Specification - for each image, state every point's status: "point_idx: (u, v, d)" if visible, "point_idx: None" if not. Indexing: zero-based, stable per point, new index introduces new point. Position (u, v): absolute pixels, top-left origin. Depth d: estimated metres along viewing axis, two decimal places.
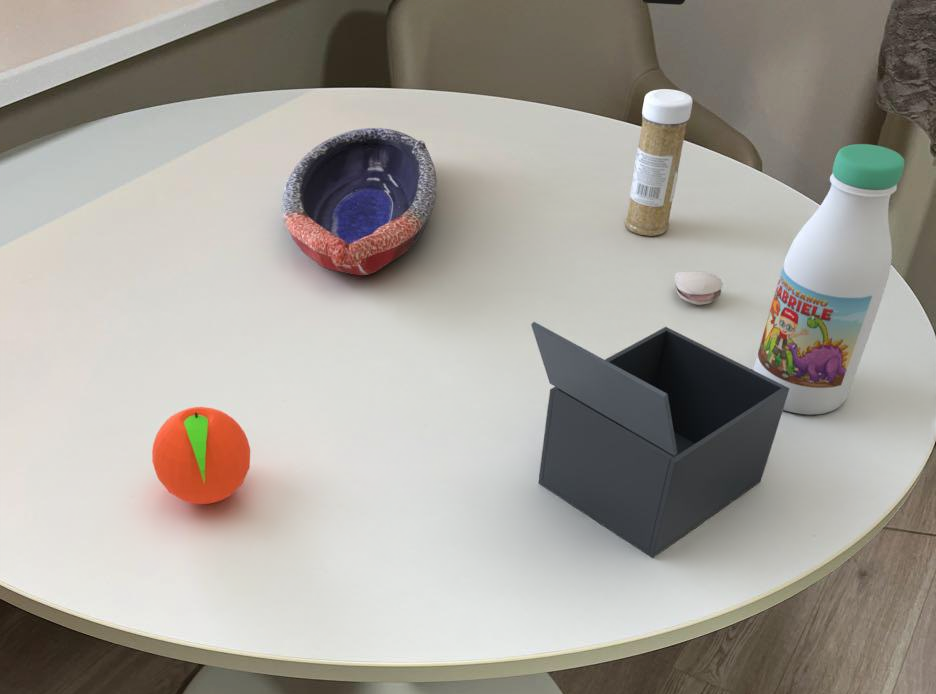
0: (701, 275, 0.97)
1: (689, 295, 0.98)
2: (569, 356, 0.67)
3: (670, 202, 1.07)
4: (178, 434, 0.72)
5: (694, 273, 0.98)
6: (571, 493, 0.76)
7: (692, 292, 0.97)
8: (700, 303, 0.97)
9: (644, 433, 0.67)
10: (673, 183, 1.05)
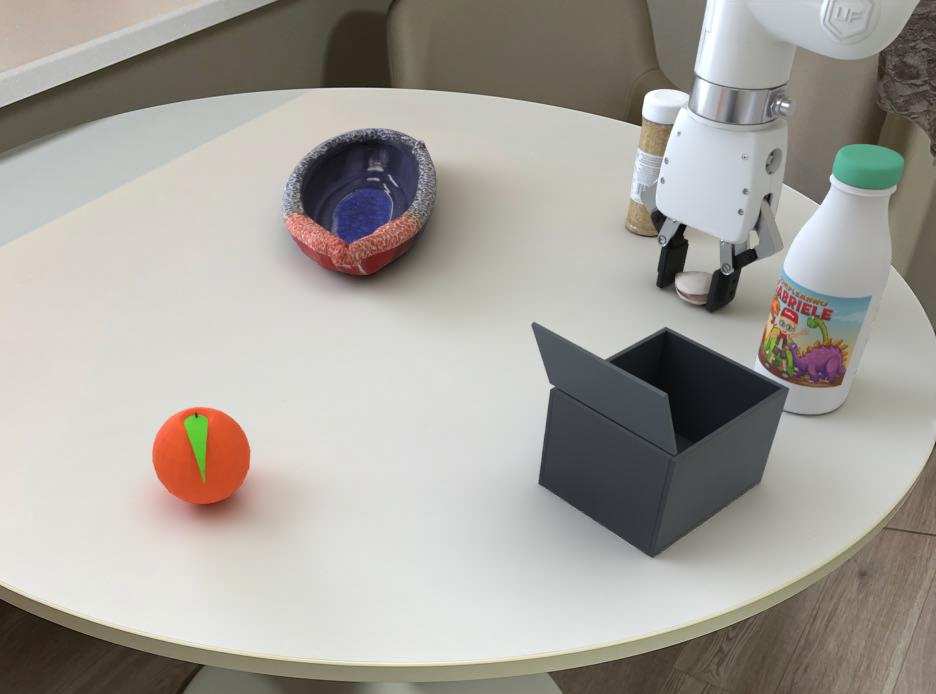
0: (701, 275, 0.97)
1: (689, 295, 0.98)
2: (569, 356, 0.67)
3: None
4: (178, 434, 0.72)
5: (694, 273, 0.98)
6: (571, 493, 0.76)
7: (692, 292, 0.97)
8: (700, 303, 0.97)
9: (644, 433, 0.67)
10: None
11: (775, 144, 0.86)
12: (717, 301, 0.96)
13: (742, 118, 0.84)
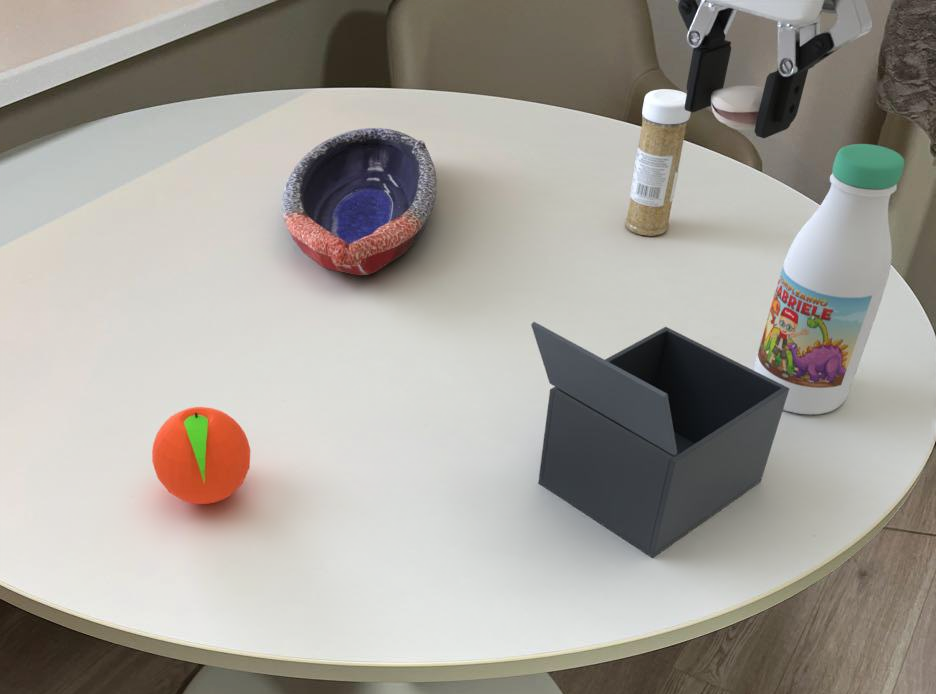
0: None
1: (731, 116, 0.69)
2: (569, 356, 0.67)
3: (670, 202, 1.07)
4: (178, 434, 0.72)
5: (738, 86, 0.70)
6: (571, 493, 0.76)
7: (736, 109, 0.68)
8: (747, 127, 0.69)
9: (644, 433, 0.67)
10: (673, 183, 1.05)
11: None
12: (771, 122, 0.68)
13: None
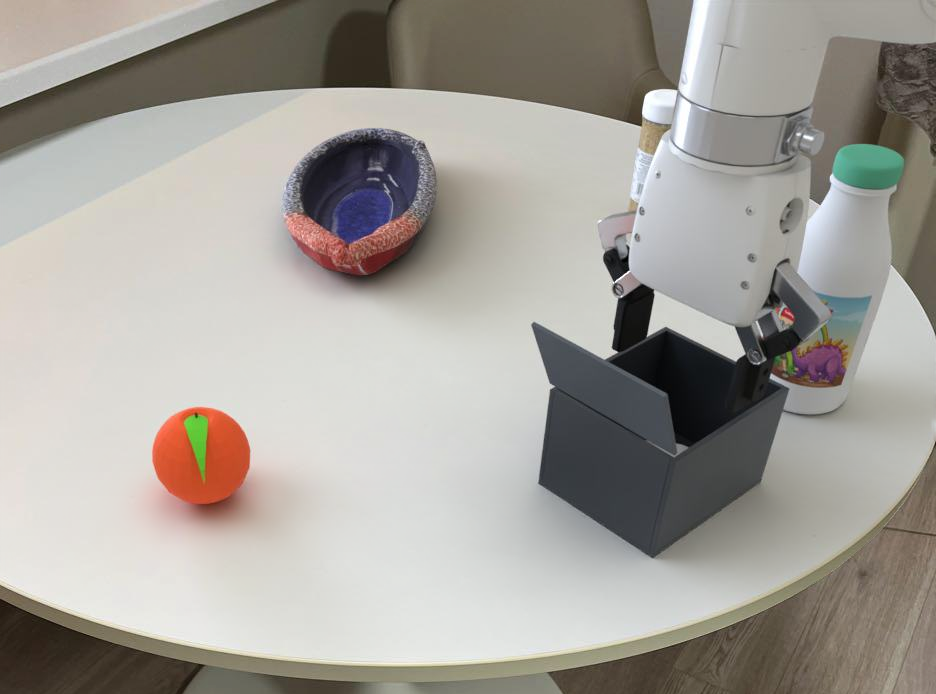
0: None
1: None
2: (569, 356, 0.67)
3: None
4: (178, 434, 0.72)
5: None
6: (571, 493, 0.76)
7: None
8: None
9: (644, 433, 0.67)
10: None
11: (794, 193, 0.61)
12: (741, 398, 0.69)
13: (746, 157, 0.59)
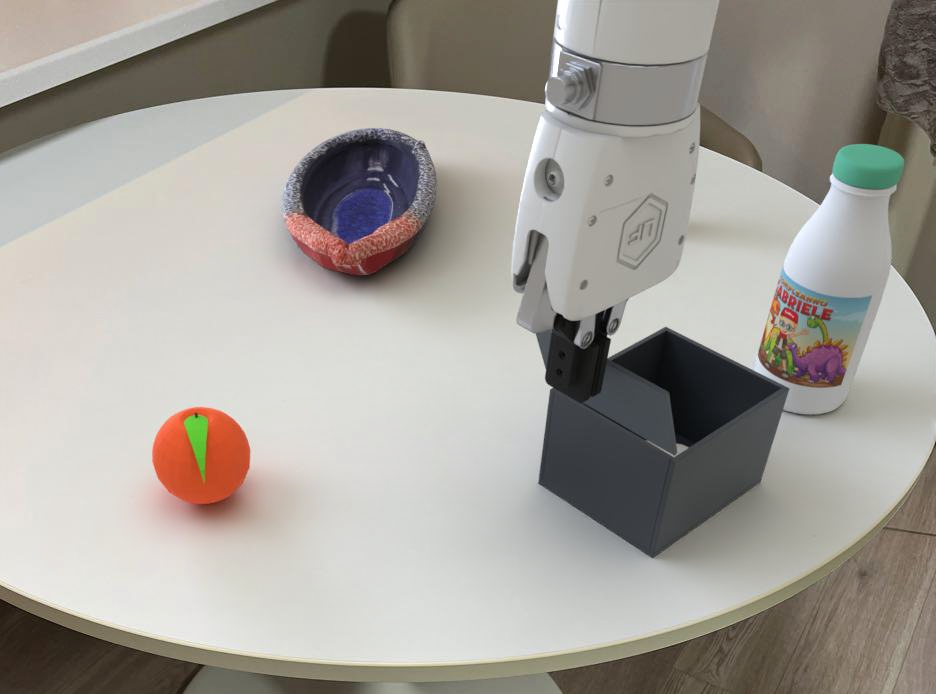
0: None
1: None
2: None
3: None
4: (178, 434, 0.72)
5: None
6: (571, 493, 0.76)
7: None
8: None
9: (645, 432, 0.67)
10: None
11: (553, 152, 0.52)
12: None
13: None
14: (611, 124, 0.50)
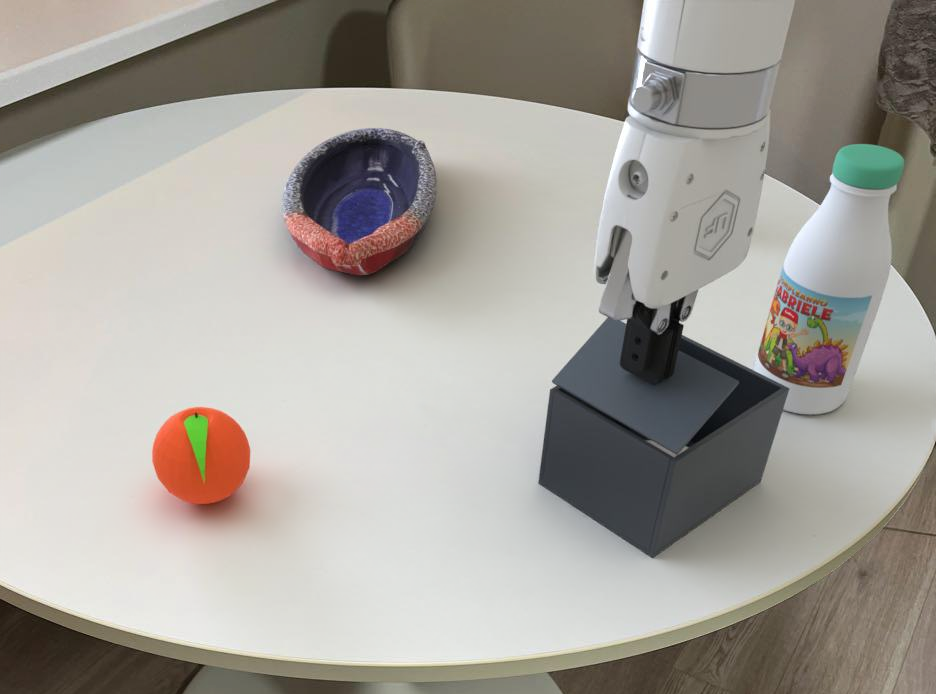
0: None
1: None
2: None
3: None
4: (178, 434, 0.72)
5: None
6: (571, 493, 0.76)
7: None
8: None
9: (655, 428, 0.68)
10: None
11: (638, 154, 0.57)
12: None
13: (630, 90, 0.58)
14: (692, 128, 0.55)
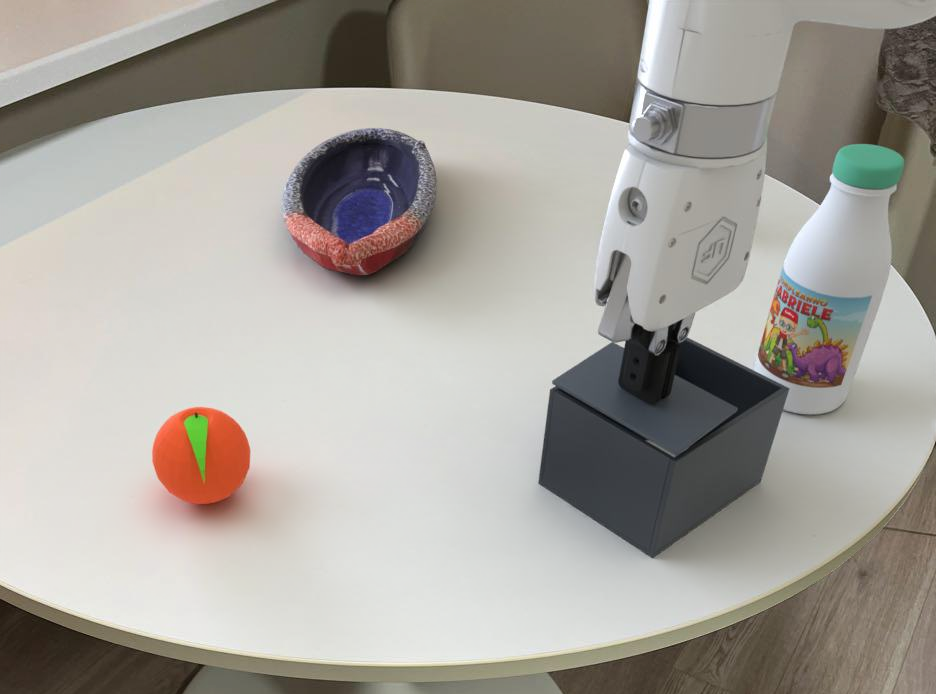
0: None
1: None
2: None
3: None
4: (178, 434, 0.72)
5: None
6: (571, 493, 0.76)
7: None
8: None
9: (656, 431, 0.68)
10: None
11: (638, 182, 0.58)
12: None
13: (630, 119, 0.59)
14: (691, 157, 0.57)
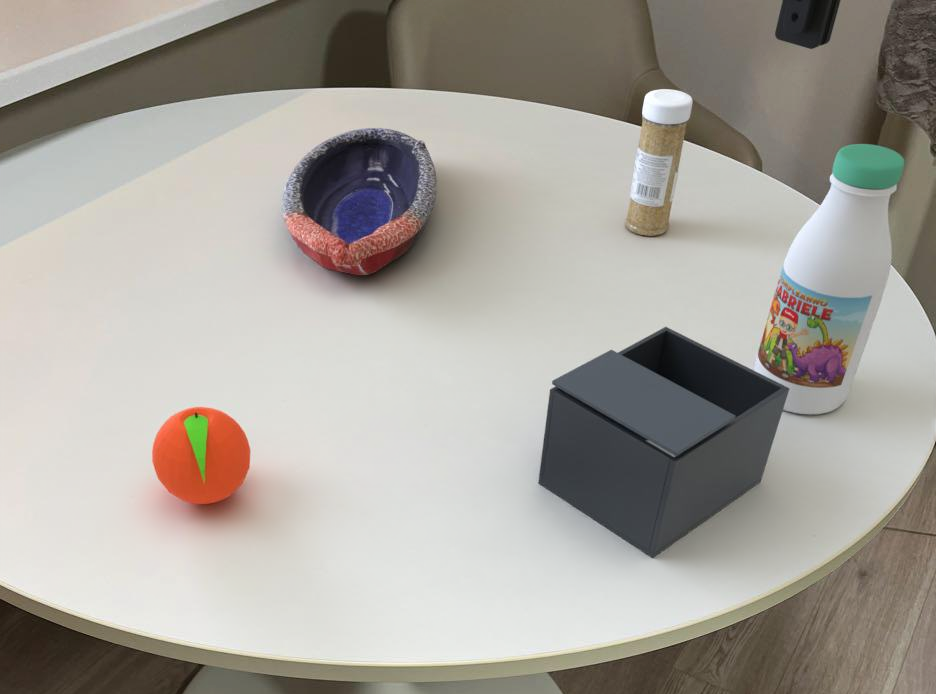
0: None
1: None
2: (632, 373, 0.73)
3: (670, 202, 1.07)
4: (178, 434, 0.72)
5: None
6: (571, 493, 0.76)
7: None
8: None
9: (656, 431, 0.68)
10: (673, 183, 1.05)
11: None
12: None
13: None
14: None
